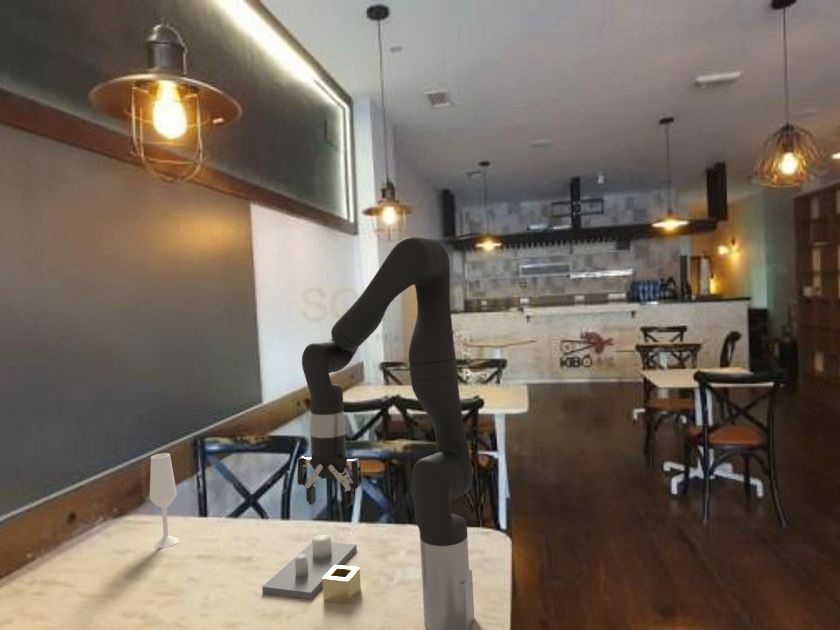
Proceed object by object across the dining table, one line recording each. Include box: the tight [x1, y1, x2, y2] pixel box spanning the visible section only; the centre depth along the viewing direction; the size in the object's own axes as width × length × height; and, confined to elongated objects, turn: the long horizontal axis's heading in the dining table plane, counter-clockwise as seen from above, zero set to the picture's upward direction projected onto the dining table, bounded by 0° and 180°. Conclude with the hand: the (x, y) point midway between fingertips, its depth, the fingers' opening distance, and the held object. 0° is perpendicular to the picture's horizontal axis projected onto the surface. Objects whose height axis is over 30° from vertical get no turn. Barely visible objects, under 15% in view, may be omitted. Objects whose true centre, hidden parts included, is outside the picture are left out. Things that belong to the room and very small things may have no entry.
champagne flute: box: [149, 452, 180, 549], centre depth 156 cm, size 7×7×24 cm
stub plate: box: [261, 534, 358, 600], centre depth 136 cm, size 12×24×6 cm, turn 162°
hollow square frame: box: [322, 565, 362, 605], centre depth 124 cm, size 6×6×5 cm
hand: (330, 504), depth 127 cm, fingers open, 8 cm apart
